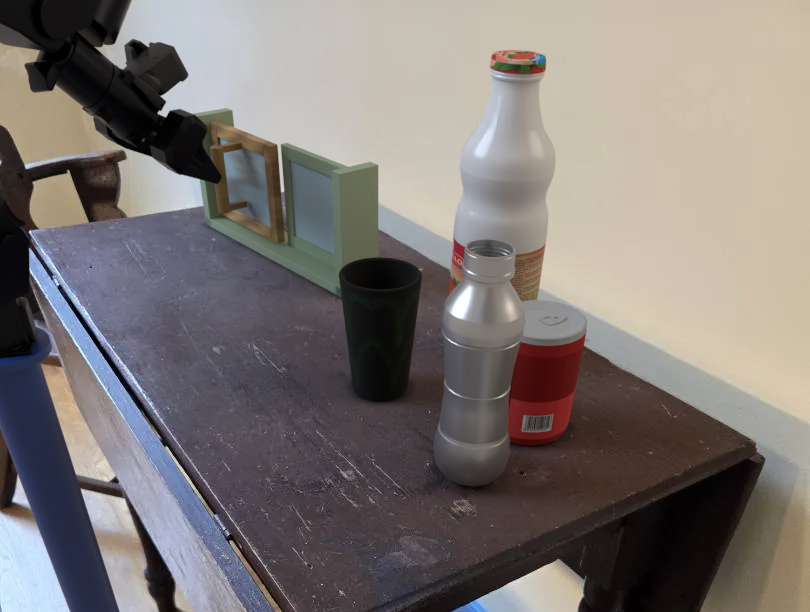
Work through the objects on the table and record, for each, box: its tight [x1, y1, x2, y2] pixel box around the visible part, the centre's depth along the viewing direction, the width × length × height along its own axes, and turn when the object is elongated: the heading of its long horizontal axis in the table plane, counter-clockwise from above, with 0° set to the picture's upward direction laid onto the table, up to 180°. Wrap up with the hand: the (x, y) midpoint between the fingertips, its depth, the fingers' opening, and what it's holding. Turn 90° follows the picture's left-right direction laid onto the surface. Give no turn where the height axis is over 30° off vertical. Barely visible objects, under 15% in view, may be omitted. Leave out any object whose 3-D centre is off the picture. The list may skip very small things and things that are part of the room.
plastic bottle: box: [432, 239, 526, 487], centre depth 62 cm, size 6×7×20 cm
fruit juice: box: [448, 49, 557, 301], centre depth 78 cm, size 9×9×28 cm
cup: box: [339, 256, 423, 403], centre depth 76 cm, size 8×8×12 cm
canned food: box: [508, 299, 588, 446], centre depth 71 cm, size 8×8×11 cm
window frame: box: [193, 107, 379, 299], centre depth 100 cm, size 32×6×14 cm, turn 42°
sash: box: [210, 121, 285, 243], centre depth 103 cm, size 14×5×12 cm, turn 42°
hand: (199, 171), depth 99 cm, fingers open, 9 cm apart
